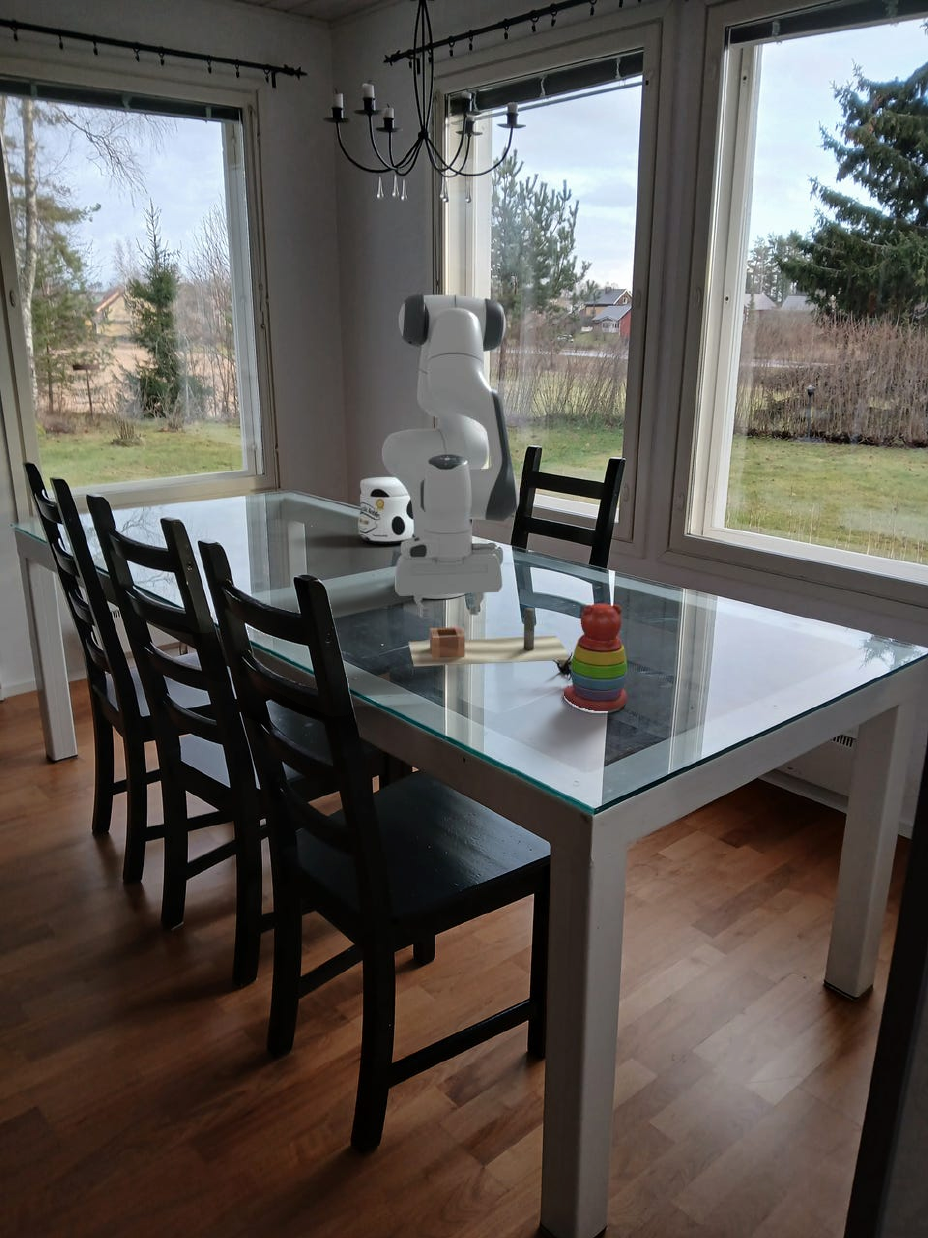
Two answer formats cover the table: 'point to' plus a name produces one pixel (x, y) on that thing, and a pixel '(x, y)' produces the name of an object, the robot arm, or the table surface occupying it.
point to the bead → (447, 642)
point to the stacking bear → (599, 661)
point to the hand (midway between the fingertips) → (448, 615)
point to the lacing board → (498, 649)
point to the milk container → (385, 511)
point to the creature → (565, 667)
